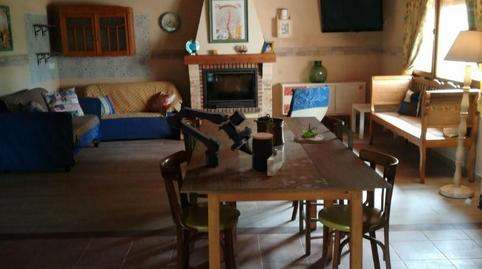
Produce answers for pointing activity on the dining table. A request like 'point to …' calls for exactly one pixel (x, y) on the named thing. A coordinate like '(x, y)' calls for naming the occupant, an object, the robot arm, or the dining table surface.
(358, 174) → the dining table surface
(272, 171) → the bench stop
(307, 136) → the plant
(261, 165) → the coffee jar
